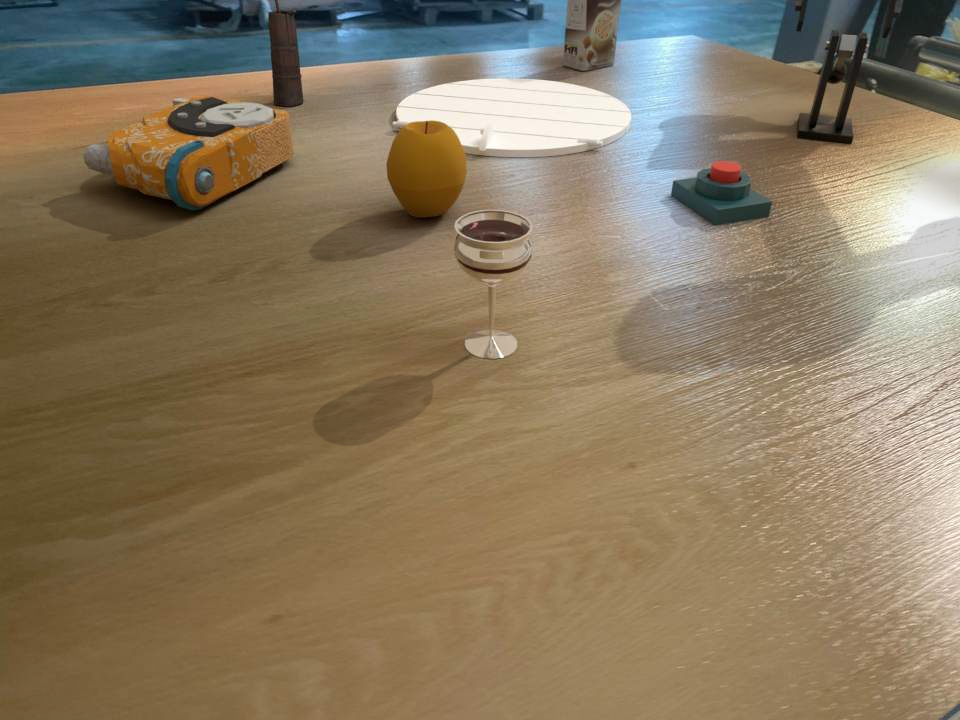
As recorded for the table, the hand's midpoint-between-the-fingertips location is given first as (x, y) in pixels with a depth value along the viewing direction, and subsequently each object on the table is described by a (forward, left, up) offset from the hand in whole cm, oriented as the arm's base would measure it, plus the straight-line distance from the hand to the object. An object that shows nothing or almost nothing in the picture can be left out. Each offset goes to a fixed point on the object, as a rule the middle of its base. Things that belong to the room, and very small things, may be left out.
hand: (842, 30), depth 128 cm
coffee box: (+38, +27, -13) cm, 48 cm away
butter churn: (+31, +88, -13) cm, 94 cm away
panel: (-32, +44, -12) cm, 56 cm away
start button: (-32, +44, -9) cm, 55 cm away
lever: (-9, +8, -4) cm, 13 cm away
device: (+3, +105, -13) cm, 106 cm away
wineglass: (-52, +83, -13) cm, 99 cm away
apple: (-22, +80, -13) cm, 84 cm away
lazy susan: (+11, +55, -13) cm, 57 cm away
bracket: (-12, +10, -12) cm, 20 cm away
